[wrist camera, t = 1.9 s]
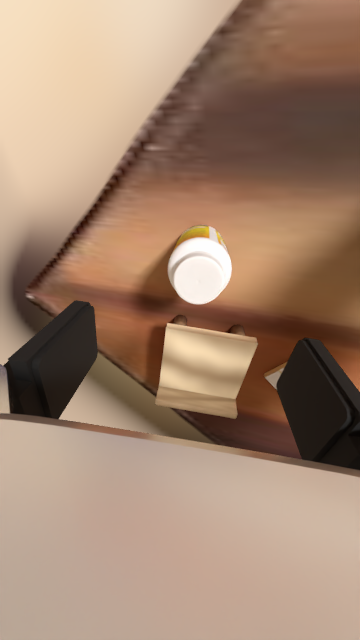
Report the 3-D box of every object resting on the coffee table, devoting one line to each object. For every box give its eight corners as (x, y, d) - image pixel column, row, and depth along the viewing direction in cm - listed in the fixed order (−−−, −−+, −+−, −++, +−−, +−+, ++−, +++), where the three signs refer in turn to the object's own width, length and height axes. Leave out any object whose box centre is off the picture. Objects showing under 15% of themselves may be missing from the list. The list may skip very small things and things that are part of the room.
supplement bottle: (168, 257, 27) (150, 292, 18) (192, 213, 24) (185, 228, 15) (207, 281, 28) (208, 324, 19) (234, 241, 25) (250, 270, 16)
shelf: (171, 309, 30) (162, 340, 24) (250, 322, 30) (262, 357, 24) (163, 368, 36) (155, 404, 30) (230, 379, 36) (235, 418, 30)
